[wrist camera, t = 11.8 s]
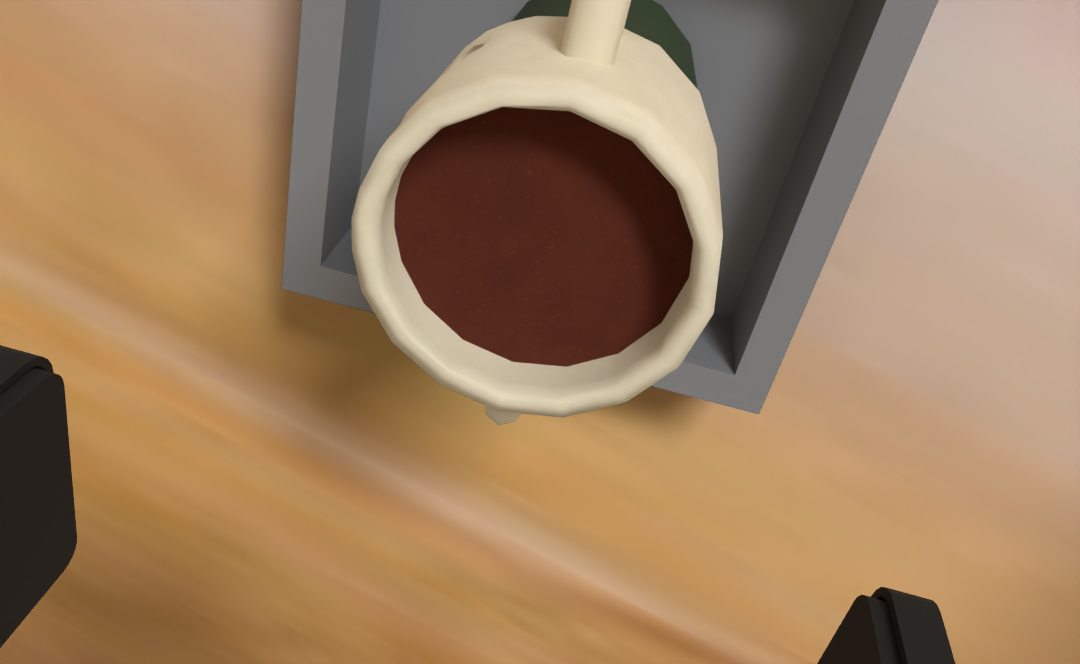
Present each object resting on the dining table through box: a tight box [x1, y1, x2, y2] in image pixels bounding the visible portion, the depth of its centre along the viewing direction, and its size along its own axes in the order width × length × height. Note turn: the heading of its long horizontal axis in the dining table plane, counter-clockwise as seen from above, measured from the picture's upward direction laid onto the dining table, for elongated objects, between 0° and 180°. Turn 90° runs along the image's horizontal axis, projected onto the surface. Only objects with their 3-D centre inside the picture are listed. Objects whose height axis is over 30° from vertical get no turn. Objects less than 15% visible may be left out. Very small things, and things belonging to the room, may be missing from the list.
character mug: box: [351, 0, 723, 425], centre depth 23 cm, size 11×7×13 cm, turn 168°
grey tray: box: [282, 0, 938, 414], centre depth 27 cm, size 16×16×4 cm
